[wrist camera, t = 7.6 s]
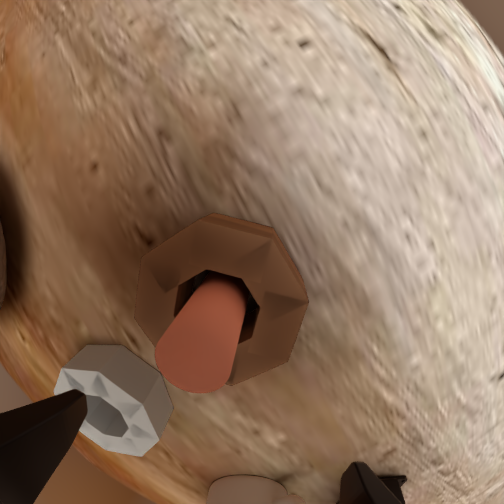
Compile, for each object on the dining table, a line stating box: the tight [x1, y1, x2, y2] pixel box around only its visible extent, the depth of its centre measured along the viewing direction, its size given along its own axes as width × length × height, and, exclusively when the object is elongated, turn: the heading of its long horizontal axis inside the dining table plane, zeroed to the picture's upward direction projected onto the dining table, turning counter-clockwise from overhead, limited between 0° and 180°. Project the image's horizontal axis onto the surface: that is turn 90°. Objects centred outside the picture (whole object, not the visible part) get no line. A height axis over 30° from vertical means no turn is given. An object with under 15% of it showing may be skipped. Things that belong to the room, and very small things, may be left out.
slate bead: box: [54, 345, 174, 457], centre depth 20 cm, size 9×9×4 cm
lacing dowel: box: [155, 270, 250, 393], centre depth 15 cm, size 3×3×9 cm
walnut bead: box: [134, 213, 309, 386], centre depth 17 cm, size 9×9×4 cm
